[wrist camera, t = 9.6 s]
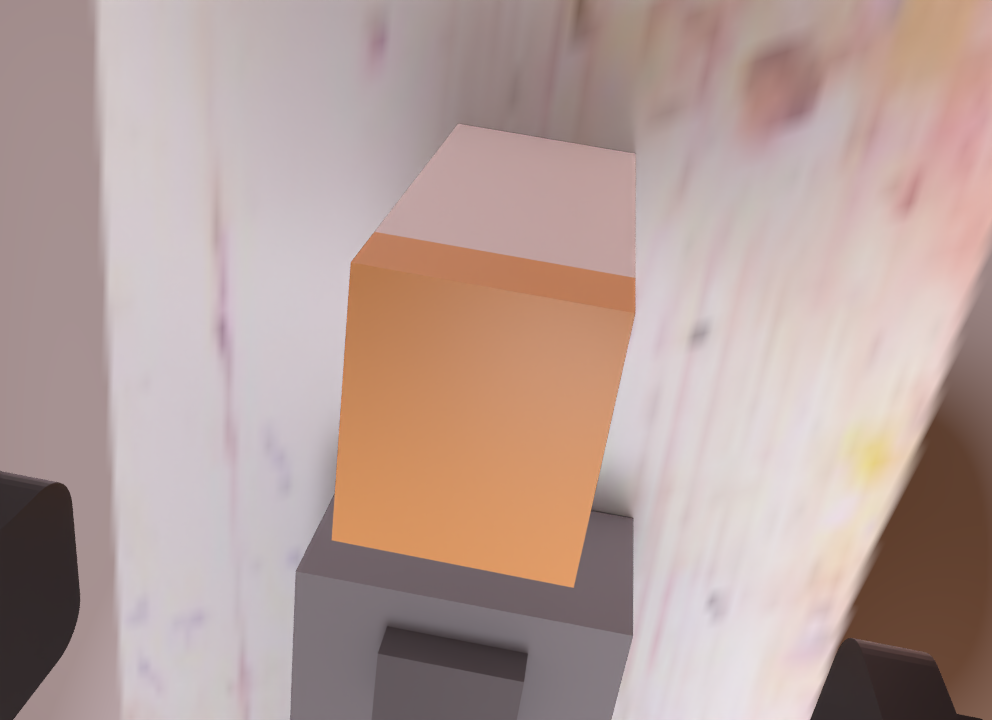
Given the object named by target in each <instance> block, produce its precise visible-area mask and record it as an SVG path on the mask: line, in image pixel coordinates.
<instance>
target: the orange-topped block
mask: <svg viewBox="0 0 992 720" xmlns="http://www.w3.org/2000/svg"><path fill="white" fill-rule="evenodd" d="M635 185H636V154H635V153H629V152H623V151H617V150H611V149H605V148H599V147H594V146H588V145H582V144H576V143H570V142H564V141H558V140H552V139H546V138H540V137H534V136H528V135H523V134H517V133H511V132H505V131H499V130H493V129H487V128H481V127H475V126H469V125H463V124H457V126H456V127H455V128H454V130H453V131H452V132H451V133H450V135H449V136H448V137H447V139H446V140H445V141H444V143H443V144H442V145H441V146H440V148H439V149H438V150H437V152H436V153H435V154H434V155H433V157H432V158H431V159H430V161H429V162H428V163H427V165H426V166H425V167H424V168H423V170H422V171H421V172H420V174H419V175H418V176H417V177H416V179H415V180H414V181H413V183H412V184H411V185H410V186H409V188H408V189H407V190H406V192H405V193H404V194H403V196H402V197H401V198H400V199H399V201H398V202H397V203H396V205H395V206H394V207H393V208H392V210H391V211H390V212H389V214H388V215H387V216H386V218H385V219H384V220H383V221H382V223H381V224H380V225H379V227H378V228H377V229H376V230H375V232H374V233H373V234H372V236H371V237H370V238H369V239H368V241H367V242H366V243H365V245H364V246H363V247H362V249H361V250H360V251H359V252H358V254H357V255H356V256H355V258H354V259H353V260H352V261H351V267H350V281H349V296H348V310H347V325H346V339H345V353H344V368H343V382H342V397H341V411H340V426H339V440H338V455H337V469H336V484H335V498H334V513H333V527H332V540H333V541H338V542H343V543H348V544H353V545H358V546H363V547H368V548H373V549H379V550H384V551H389V552H394V553H399V554H404V555H409V556H414V557H419V558H424V559H429V560H435V561H440V562H445V563H450V564H455V565H460V566H465V567H470V568H475V569H480V570H485V571H491V572H496V573H501V574H506V575H511V576H516V577H521V578H526V579H531V580H536V581H541V582H546V583H552V584H557V585H562V586H567V587H572V588H574V584H575V580H576V575H577V571H578V566H579V562H580V557H581V553H582V548H583V544H584V540H585V535H586V531H587V526H588V522H589V517H590V513H591V508H592V504H593V499H594V495H595V491H596V486H597V482H598V477H599V473H600V468H601V464H602V459H603V455H604V450H605V446H606V442H607V437H608V433H609V428H610V424H611V419H612V415H613V410H614V406H615V401H616V397H617V393H618V388H619V384H620V379H621V375H622V370H623V366H624V361H625V357H626V352H627V348H628V344H629V339H630V335H631V330H632V326H633V321H634V317H635Z"/></svg>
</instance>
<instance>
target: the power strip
mask: <svg viewBox="0 0 992 720" xmlns="http://www.w3.org/2000/svg"><path fill="white" fill-rule="evenodd" d="M334 498H335V494H334V496H333V498H332V500H331V502H330V504H329V506H328V508H327V510H326V512H325V514H324V516H323V518H322V520H321V522H320V524H319V526H318V528H317V530H316V532H315V534H314V536H313V538H312V540H311V542H310V544H309V546H308V548H307V550H306V552H305V554H304V556H303V558H302V560H301V562H300V564H299V566H298V568H297V570H296V579H295V606H294V633H293V660H292V687H291V714H290V720H611V719H612V715H613V711H614V707H615V703H616V699H617V695H618V692H619V688H620V684H621V680H622V676H623V672H624V668H625V665H626V661H627V657H628V653H629V649H630V645H631V641H632V637H633V518H628V517H623V516H617V515H612V514H606V513H601V512H595V511H591V513H590V517H589V522H588V526H587V531H586V535H585V540H584V544H583V548H582V553H581V557H580V562H579V566H578V571H577V575H576V580H575V584H574V588H572V587H567V586H562V585H557V584H552V583H546V582H541V581H536V580H531V579H526V578H521V577H516V576H511V575H506V574H501V573H496V572H491V571H485V570H480V569H475V568H470V567H465V566H460V565H455V564H450V563H445V562H440V561H435V560H429V559H424V558H419V557H414V556H409V555H404V554H399V553H394V552H389V551H384V550H379V549H373V548H368V547H363V546H358V545H353V544H348V543H343V542H338V541H333V540H332V527H333V513H334Z"/></svg>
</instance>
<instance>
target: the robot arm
mask: <svg viewBox="0 0 992 720" xmlns="http://www.w3.org/2000/svg"><path fill="white" fill-rule="evenodd" d="M79 606H80V589H79V579H78V566H77V554H76V543H75V531H74V519H73V508H72V500H71V496H70V492H69V490H68V489H67V487H66V486H65V485H64V484H61V483H58V482H53V481H48V480H43V479H38V478H32V477H27V476H22V475H17V474H11V473H6V472H1V471H0V720H13V719H14V718H15V717H16V715H17V714H18V713H19V711H20V710H21V709H22V707H23V706H24V705H25V704H26V702H27V701H28V700H29V698H30V697H31V695H32V694H33V693H34V692H35V690H36V689H37V688H38V686H39V685H40V684H41V683H42V681H43V680H44V679H45V677H46V676H47V675H48V674H49V672H50V671H51V669H52V668H53V667H54V666H55V664H56V663H57V662H58V660H59V659H60V658H61V656H62V655H63V653H64V651H65V650H66V648H67V646H68V644H69V642H70V639H71V637H72V634H73V632H74V629H75V626H76V622H77V618H78V614H79V608H80V607H79ZM810 720H982V719H980V718H975V717H969V716H964V715H959V714H956V711H955V709H954V706H953V703H952V701H951V698H950V696H949V694H948V691H947V689H946V686H945V683H944V681H943V678H942V676H941V673H940V671H939V669H938V666H937V664H936V662H935V660H934V659H933V658H932V657H931V656H930V655H929V654H928V653H925V652H920V651H915V650H910V649H905V648H899V647H895V646H890V645H884V644H879V643H874V642H869V641H863V640H858V639H853V638H848V639H846V640H845V641H844V642H843V643H842V644H841V646H840V647H839V649H838V651H837V653H836V656H835V658H834V661H833V663H832V666H831V669H830V671H829V674H828V676H827V679H826V681H825V684H824V686H823V689H822V691H821V694H820V697H819V699H818V702H817V704H816V707H815V709H814V712H813V714H812V717H811V719H810Z"/></svg>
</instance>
